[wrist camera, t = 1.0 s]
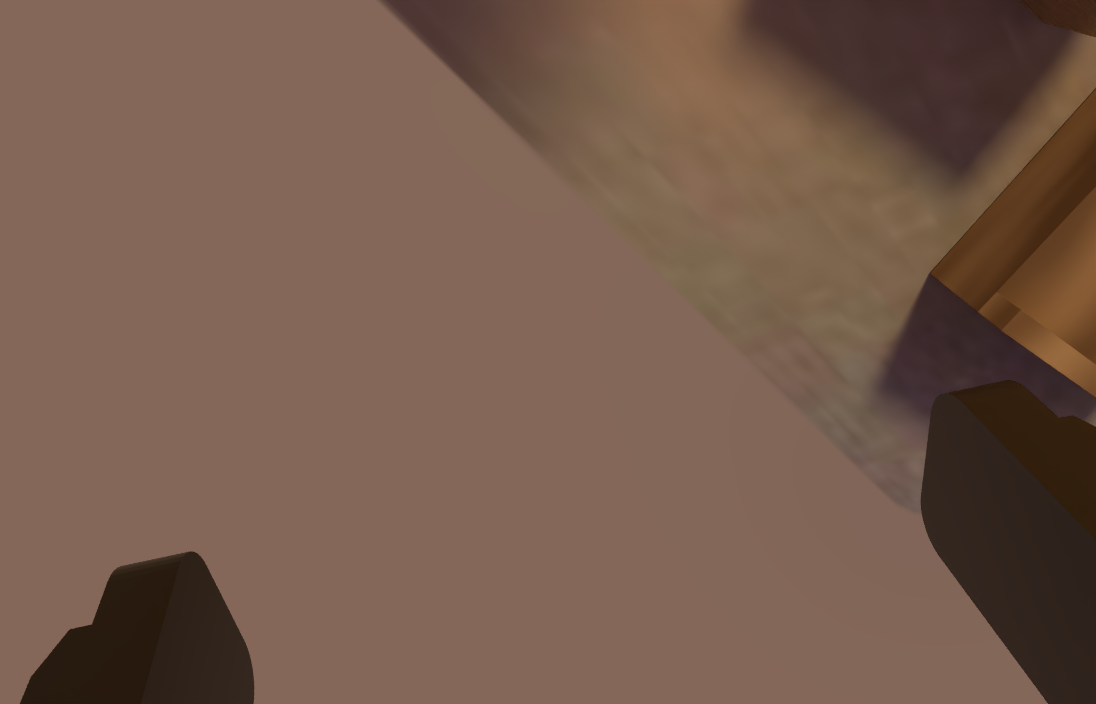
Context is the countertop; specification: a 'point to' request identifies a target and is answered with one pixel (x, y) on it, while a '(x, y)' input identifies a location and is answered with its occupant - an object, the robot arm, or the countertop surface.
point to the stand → (1040, 254)
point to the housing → (1066, 14)
